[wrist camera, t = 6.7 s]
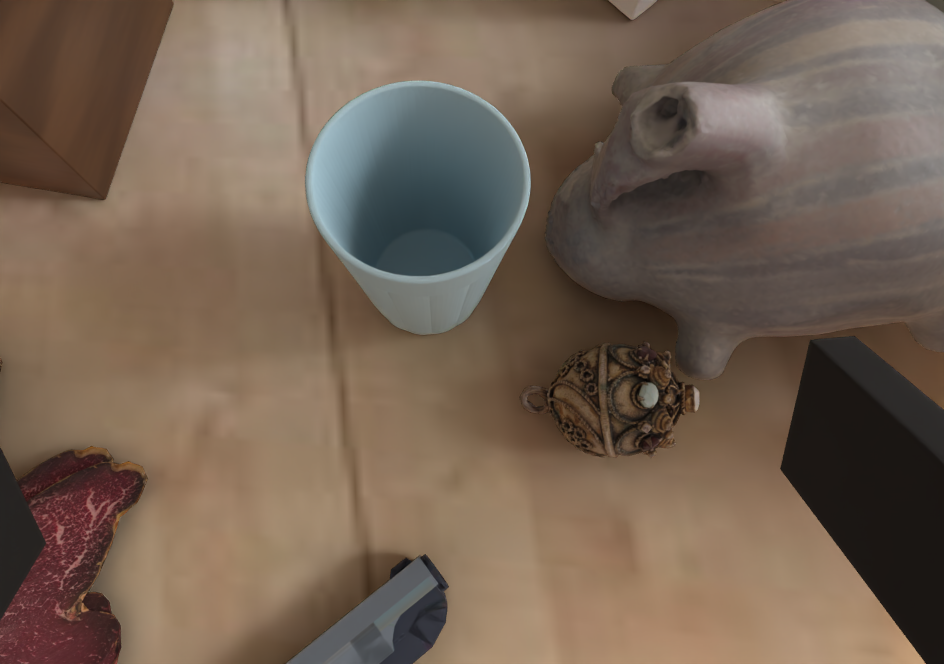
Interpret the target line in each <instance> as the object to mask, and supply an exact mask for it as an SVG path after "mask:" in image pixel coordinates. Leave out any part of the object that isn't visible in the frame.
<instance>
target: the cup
mask: <svg viewBox="0 0 944 664" xmlns="http://www.w3.org/2000/svg"><path fill="white" fill-rule="evenodd" d="M530 186H531V178H530V168H529V163H528V158H527V155H526V151H525V149H524V147H523V144H522V142H521V140H520V138H519V136H518V134H517V133H516V131H515V130H514V128H513V127H512V126H511V124H510V123H509V122H508V120H507V119H506V118H505V117H504V116H503V115H502V114H501V113H500V112H499V111H498V110H497V109H496V108H495V107H493V106H492V105H491V104H489V103H488V102H486V101H485V100H483V99H482V98H480V97H478V96H477V95H475V94H473V93H471V92H469V91H466V90H464V89H462V88H459V87H456V86H453V85H449V84H445V83H439V82H432V81H403V82H397V83H392V84H388V85H384V86H381V87H378V88H375V89H372V90H370V91H368V92H365V93H363V94H361V95H359V96H358V97H356V98H354V99H353V100H351V101H350V102H348V103H347V104H346V105H344V106H343V107H342V108H341V109H339V110H338V111H337V112H336V113H335V114H334V115H333V116H332V117H331V118H330V120H329V121H328V122H327V123H326V124H325V126H324V127H323V128H322V130H321V131H320V133H319V135H318V137H317V138H316V140H315V142H314V144H313V147H312V149H311V152H310V155H309V158H308V162H307V167H306V176H305V188H306V197H307V203H308V206H309V210H310V213H311V216H312V218H313V221H314V223H315V225H316V227H317V228H318V230H319V232H320V234H321V235H322V237H323V238H324V239H325V241H326V242H327V244H328V245H329V246H330V247H331V249H332V250H333V251H334V253H335V254H336V255H337V257H338V258H339V259H340V260H341V262H342V263H343V264H344V265H345V267H346V268H347V269H348V271H349V272H350V273H351V275H352V276H353V277H354V279H355V280H356V281H357V283H358V284H359V285H360V287H361V288H362V289H363V291H364V292H365V293H366V295H367V296H368V297H369V299H370V300H371V301H372V303H373V304H374V305H375V307H376V308H377V309H378V310H379V311H380V313H381V314H382V315H383V316H385V317H386V318H387V319H388V320H389V321H390V323H392V324H393V325H394V326H396V327H398V328H400V329H402V330H406V331H408V332H411V333H414V334H419V335H428V334H439V333H444V332H447V331H449V330H451V329H452V328H454V327H456V326H458V325H459V324H461V323H463V322H464V321H465V320H467V319H468V318H469V316H470V315H471V313H472V312H473V310H474V309H475V308H476V306H477V305H478V303H479V302H480V300H481V298H482V296H483V294H484V292H485V291H486V289H487V287H488V285H489V283H490V281H491V279H492V277H493V275H494V273H495V272H496V270H497V268H498V266H499V264H500V262H501V260H502V258H503V256H504V254H505V252H506V251H507V249H508V247H509V245H510V244H511V242H512V240H513V238H514V236H515V234H516V232H517V230H518V229H519V227H520V225H521V222H522V220H523V218H524V216H525V212H526V209H527V206H528V202H529V197H530Z"/></svg>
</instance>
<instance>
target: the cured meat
mask: <svg viewBox="0 0 944 664" xmlns="http://www.w3.org/2000/svg"><path fill="white" fill-rule="evenodd" d="M1 366H2V360H1V358H0V371H1ZM147 479H148V478H147V476H146V474H145V472H144V469H143V467H142V466H140V465H137V464H133V463H131V462H129V461H128V462H125V463H122V464H116V463H113V458H112V457H111V455H110V454H109V452H108V451H107V449H104V448H96V447H93V446H91V447H89V448H87V449H85V450H68V451H64V452H62V453H60V454H58V455H56V456H54V457H52V458H51V459H49V460H47V461H45V462H43V463H41V464H39V465H38V466H36V467H35V468H33V469H32V470H30V471H29V472H27V473H26V474H25V475H24V476H22V477H21V478H20V479H18V480H17V483H18V485H19V487H20V489H21V491H22V493H23V495H24V498H25V500H26V502H27V504H28V506H29V508H30V510H31V512H32V514H33V516H34V518H35V520H36V522H37V525H38V527H39V529H40V531H41V533H42V535H43V537H44V539H45V541H46V545H45V546H44V548H43V550H42V551H41V553H40V555H39V556H38V558H37V560H36V561H35V563H34V565H33V566H32V568H31V570H30V571H29V573H28V575H27V576H26V578H25V580H24V581H23V583H22V585H21V586H20V588H19V590H18V592H17V593H16V595H15V597H14V598H13V600H12V602H11V603H10V605H9V607H8V608H7V610H6V612H5V613H4V615H3V617H2V618H1V620H0V664H117V661H118V657H119V652H120V649H121V627H120V624H119V622H118V620H117V619H116V617H115V615H113V614H112V613H111V608H110V603H109V601H108V600H107V599H106V598H105V596H104V595H103V594H102V593H97V592H88V590H89V589H90V588H91V586H92V585H93V583H94V581H95V580H96V578H97V576H98V574H99V573H100V571H101V568H102V566H103V563H104V561H105V559H106V556H107V554H108V552H109V549H110V547H111V544H112V542H113V538H114V535H115V532H116V529H117V525H118V522H119V519H120V517H121V516H122V515H123V514H125V513H126V512H127V511H128V510H129V509H130V508H131V507H132V506H134V505H135V504H136V503H137V502H138V500H139V498H140V496H141V494H142V491H143V489H144V487H145V484H146V482H147Z"/></svg>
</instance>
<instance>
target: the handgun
mask: <svg viewBox="0 0 944 664" xmlns="http://www.w3.org/2000/svg"><path fill="white" fill-rule="evenodd" d="M448 587H449V586H448V584H447V583H446V581H445V580H444V578H443V577H442V575H441V574H440V572H439V571H438V570H437V568H436V567H435V566H434V564H433V563H432V562H431V560H430V559H429V558H428V556H427V555H426V554H425V555H423V556H422V557H421V555H419V556H418V557H417V558H416V559H414V560H413V561H411V560H409V559H407V558H405V559H404V560H402V561H401V562H400V563H399V564H397V565H396V566H395V567H394V568H392V569H391V574H390V580H388V581H387V582H386V583H385V584H383V585H382V586H381V587H380V588H378V589H377V590H376V591H375V592H374V593H372V594H371V595H370V596H369V597H367V598H366V599H365V600H364V601H362V602H361V603H360V604H359V605H357V606H356V607H355V608H354V609H352V610H351V611H350V612H349V613H347V614H346V615H345V616H344V617H343V618H341V619H340V620H339V621H338V622H336V623H335V624H334V625H333V626H331V627H330V628H329V629H328V630H326V631H325V632H324V633H323V634H321V635H320V636H319V637H318V638H316V639H315V640H314V641H313V642H311V643H310V644H309V645H308V646H307V647H305V648H304V649H303V650H302V651H300V652H299V653H298V654H297V655H295V656H294V657H293V658H292V659H290V660H289V661H288V662H287V663H285V664H413V663H414V662H415V661H416V660H417V659H419V658H420V657H421V656H422V655H423V654H425V653H426V652H427V651H428V650H429V649H430V648H432V647H433V645H434V643H435V641H436V639H437V638H438V636H439V634H440V632H441V630H442V628H443V626H444V624H445V623H446V615H447V600H446V595H445V593H444V591H445V590H446V589H447V588H448Z"/></svg>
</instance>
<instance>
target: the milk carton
mask: <svg viewBox="0 0 944 664" xmlns="http://www.w3.org/2000/svg"><path fill="white" fill-rule="evenodd" d="M608 1H610V2H611V3H612V4H613V5H614V6H615V7H617V8H618V9H619V10H620V11H621V12H622V13H624V14H625V15H626V16H627V17H628V18H630V19H631V20H634V19H635V18H637V17H638V16H639V15H641V14H642V13H643V12H644V11H645V10H647V9H648V8H649V7H650V6H652V5H653V4H654V3H655V2H656V1H658V0H608Z"/></svg>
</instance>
